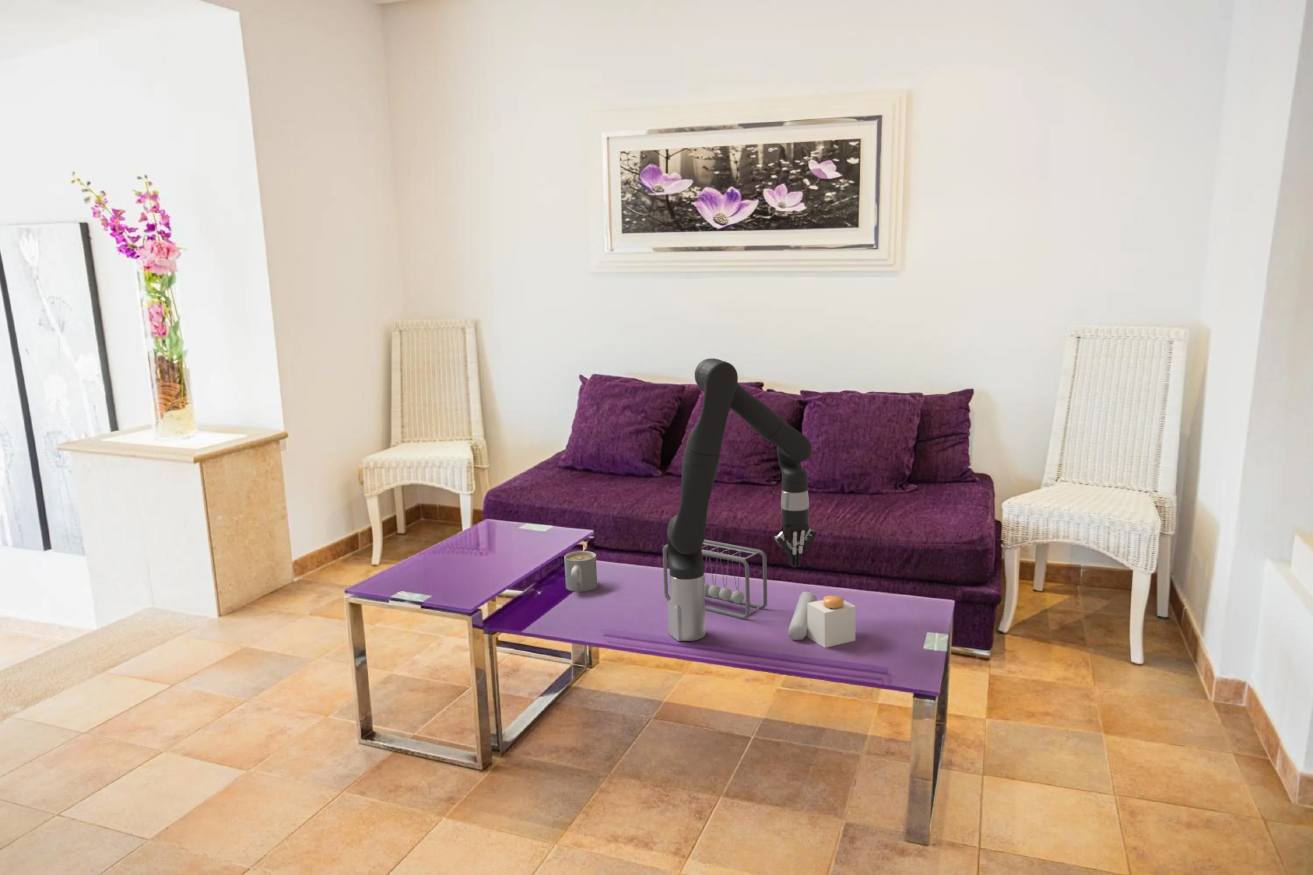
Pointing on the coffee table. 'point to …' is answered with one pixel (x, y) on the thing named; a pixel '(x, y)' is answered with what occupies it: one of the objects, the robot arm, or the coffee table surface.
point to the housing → (831, 623)
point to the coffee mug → (580, 571)
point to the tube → (801, 616)
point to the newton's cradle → (725, 592)
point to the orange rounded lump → (833, 602)
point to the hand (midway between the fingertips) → (795, 565)
